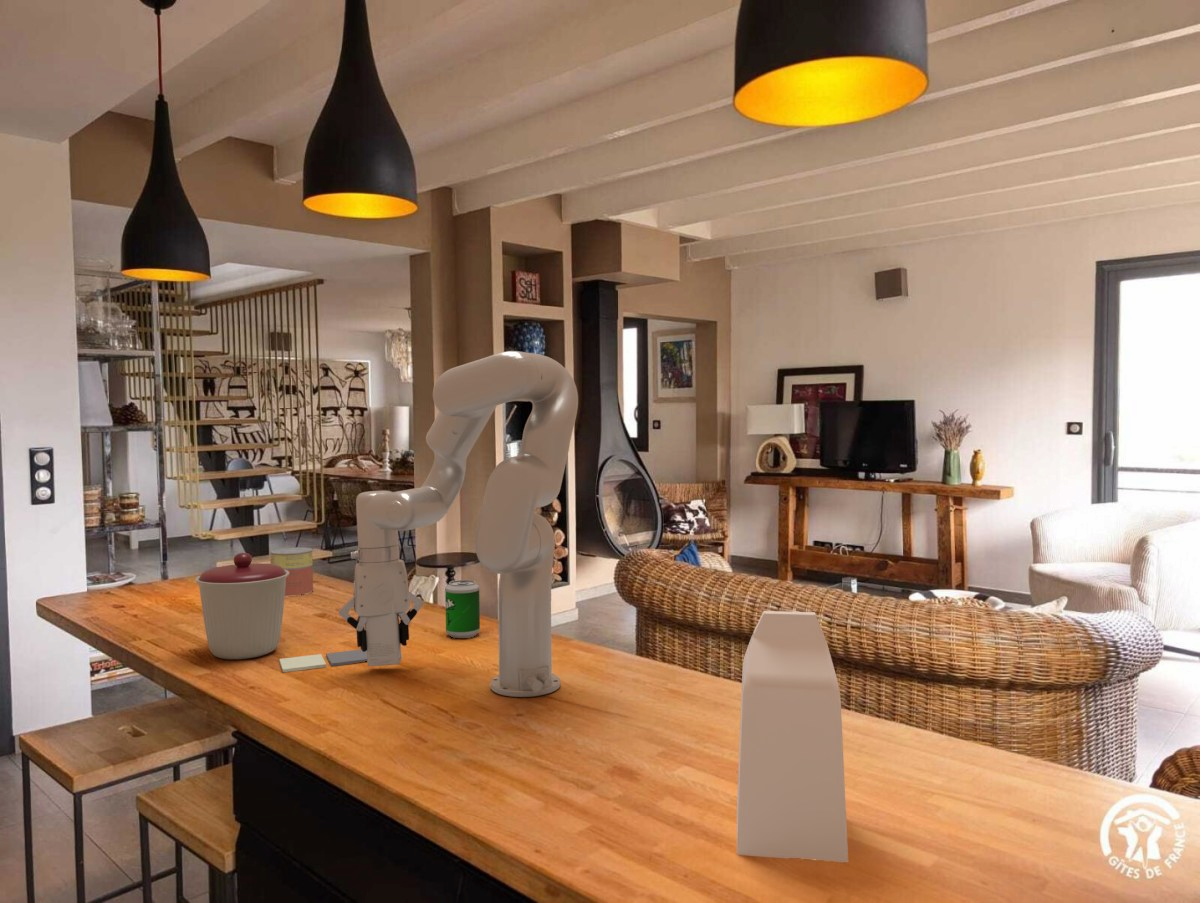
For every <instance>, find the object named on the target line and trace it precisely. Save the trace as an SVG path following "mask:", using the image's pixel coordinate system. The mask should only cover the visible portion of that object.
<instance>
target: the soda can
mask: <svg viewBox="0 0 1200 903" xmlns="http://www.w3.org/2000/svg"><path fill="white" fill-rule="evenodd" d="M444 589H445V591H444V592H445V593H444V594H445V597H444V598H445V599H444V600H445V632H446V634H447V635H448V636H449V637H450V636H451V637H454V638H453V639H455V638H467V639H471V637H472V638H474V636H475V637H476V636H477V634H479V632H480V630H481V626H480V625H481V623H480V622H481V618H480V616H481V615H480V610H481V609H480V604H481V603H480V586H479V585H478V584H477V583H476V581H475V580H472V579H471V580H470V579H459V580H453V581H449V582H448V584H447V585H446V587H445V588H444ZM451 637H450V638H451Z"/></svg>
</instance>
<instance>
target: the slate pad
mask: <svg viewBox="0 0 1200 903" xmlns="http://www.w3.org/2000/svg"><path fill="white" fill-rule="evenodd" d="M325 657H326V659H327V660H328V663H329V664H330V666H331V667H339V665H340V666H345V665H346V664H348V665H354V664H353V663H356V664H360V663H359V662H364V663H366V662H365V661H367V651H365V652H363V651H362V650H361V648H360V649H353V650H345V651H335V652H328V653H326V654H325ZM346 666H347V665H346Z"/></svg>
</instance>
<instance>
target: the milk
mask: <svg viewBox="0 0 1200 903" xmlns="http://www.w3.org/2000/svg"><path fill="white" fill-rule="evenodd" d="M819 621H820V620H819V619H818V617H817V614H816V612H815V611H814V612H811V611H785V610H784V611H783V610H781V611H777V610H763V611H762V613H761V616H760V618H759V619H758V621H757V624H756V626H755V628H754V630H753V633H752V635H751V637H750V640H749V643H748V645H747V648H746V651H745V654H744V658H743V661H742V670H741V671H742V672H741V673H742V674H741V677H742V678H741V695H740V697H741V698H740V700H741V701H740V724H739V725H740V726H739V744H738V745H739V748H738V750H739V751H738V766H737V767H738V771H737V794H736V795H737V796H736V855H737V856H750V857H762V858H764V857H765V858H775V859H776V858H778V859H779V858H780V859H789V858H804V859H816V860H815V861H817V860H827V861H826V862H830V861H836V862H835V863H844V862H848V863H849V853H848V852H849V848H848V830H847V829H848V828H847V826H848V825H847V809H846V808H847V807H846V784H845V762H844V744H843V743H844V742H843V739H844V738H843V725H842V724H843V721H842V717H843V716H842V702H841V692H840V686H839V683H838V682H839V681H838V678H837V674H836V671H835V667H834V666H835V665H834V663H833V659H832V655H831V652H830V649H829V646H828V642H827V639H826V636H825V634H824V630H823V629H822V627H821V624H820V622H819ZM837 861H838V862H837Z"/></svg>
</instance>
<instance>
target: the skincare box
mask: <svg viewBox="0 0 1200 903" xmlns="http://www.w3.org/2000/svg"><path fill="white" fill-rule="evenodd" d="M399 619H400V617H399V615H398V614H395V603H393V604H392V613H391V614H388V615H384V616H376V617H368V618H367V621H366V623H365V625H364V630H365V631H366V641H367V662H366V663H367V667H381V666H382V667H383V666H392V665H393V666H394V665H400V663H401V661H402V659H403V657H402V644H401V643H400V629H399V624H400V620H399Z"/></svg>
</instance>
